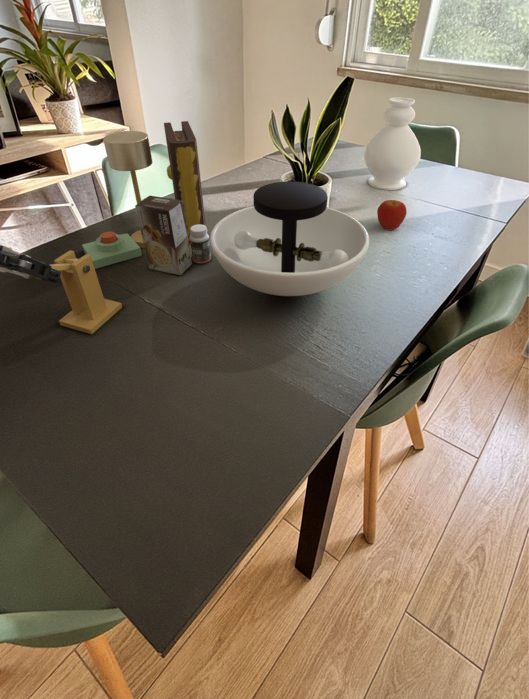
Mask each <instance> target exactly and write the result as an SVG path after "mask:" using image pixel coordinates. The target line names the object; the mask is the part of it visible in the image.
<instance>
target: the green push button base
mask: <svg viewBox="0 0 529 699" xmlns="http://www.w3.org/2000/svg"><path fill="white" fill-rule="evenodd" d="M115 235H116V239H117V241H115V242H114V243H110V244H104V243H102V240H101V237H100V236H98V237H97V238H96V240H94V241H90V242H86V243H83V244H81V247H82V250H83V253H84V255H86V254H89V255H91V258H92V261H93V265H94V268H95V270H96V269H100V268H104V267H106V266H110V265H114V264H118V263H121V262H125V261H128V260H131V259H136V258H139V257H142V256H143V253H142V248H140V247H139V246H138V245H137V244H136V242H135V241H134V240H133V239H132V238H131V235H130V234H129V233H128V232H126V233H122V234H119V233H118V234H117V233H115Z"/></svg>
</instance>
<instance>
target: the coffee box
mask: <svg viewBox="0 0 529 699" xmlns="http://www.w3.org/2000/svg"><path fill="white" fill-rule="evenodd" d="M134 208H135V211H136V216H137V221H138V225H139V230H141V234H142V239H143V243H144V247H145V248H144V251H145V252H144V253H145V256H146V260H147V265H148V269H149V270H152V271H158V272H163V273H166V274H167V273H168V274H171V275H172V274H173V275H177V276H181V275H183V274H184V272H186V271H187V270H188V269H189V268H190V267H191V266H192V264H193V260H192V253H191V246H190V244H189V240H188V233H187V226H186V220H185V213H184V206H183V201H182V200H176V199H175V198H169V197H162V196H156V195H148V196H146V197H144V198H143V199H141V201H140V203H138V204H137V203H136V205H135V206H134Z"/></svg>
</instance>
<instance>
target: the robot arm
mask: <svg viewBox="0 0 529 699" xmlns="http://www.w3.org/2000/svg"><path fill="white" fill-rule="evenodd" d="M50 264H51V263H46V262H43V261H40V260H38V259H35V258H32V257H31V256H30V255H28V254H25V253H22V252H18V251H16V250H13V248H11V247H8V246H6V245H2V244H0V273H10V274H11V275H16V276H19V277H22V278H24V277H25V276H27V275H30V276H33V277H36V278H37V279H36V280H42V281H47V282H50V283H53V284H58V283H59V281H60V275H61V272H60V271H58V270H56V269H53V268H51V267H52V266H51V265H50Z"/></svg>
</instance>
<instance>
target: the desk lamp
mask: <svg viewBox="0 0 529 699" xmlns="http://www.w3.org/2000/svg"><path fill="white" fill-rule="evenodd" d="M102 141H103V144H104V149H105V154H106V156H107V160H108V166H109V168H110V169H112V170H114V171H119V172H130V175H131V176H130V177H131V181H132V187H133V192H134V196H135V201H136V205H137V204H138V203H140V201H142V198H141V197H142V196H141V192H140V186H139V183H138V178H137V173H136V172H137V171H139V170H144V169H146V168H148V167H150V166H152V164H153V157H152V151H151V144H150V141H149V135H148V133H146V132H144V131H139V130H123V131H116V132H113V133H109V134H107V135H105V136H103V138H102ZM130 237H131V238H132V239H133V240H134V241H135V242H136V244H137V245H138V246H139V247H140V248H141V249H145V247H144V243H143V239H142V234H141V230H140V229H139V230H136V231H134V232H133V233H132V234H131V235H130Z"/></svg>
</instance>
